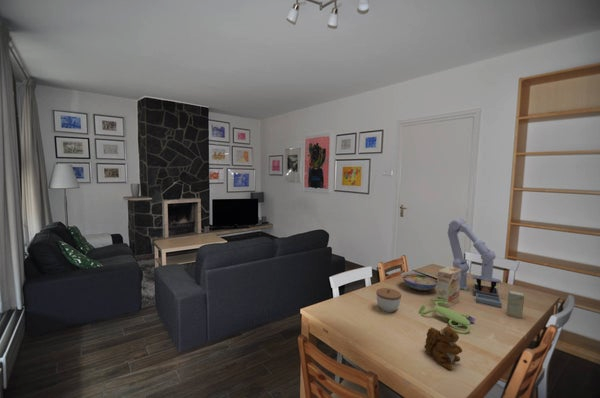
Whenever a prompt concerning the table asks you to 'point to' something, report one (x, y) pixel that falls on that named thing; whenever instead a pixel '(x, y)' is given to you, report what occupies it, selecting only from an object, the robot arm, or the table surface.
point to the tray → (488, 300)
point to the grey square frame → (476, 287)
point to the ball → (485, 289)
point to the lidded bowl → (388, 299)
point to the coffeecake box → (448, 285)
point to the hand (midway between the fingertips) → (485, 292)
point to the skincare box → (515, 304)
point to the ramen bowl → (419, 280)
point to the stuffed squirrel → (443, 346)
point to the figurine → (450, 315)
